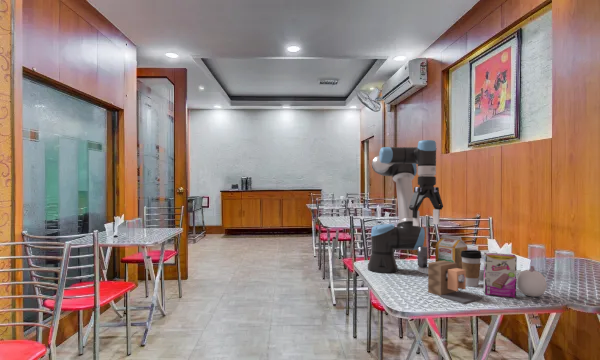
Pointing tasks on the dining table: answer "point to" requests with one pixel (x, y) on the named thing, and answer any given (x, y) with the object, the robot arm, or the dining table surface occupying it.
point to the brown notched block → (439, 277)
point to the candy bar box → (500, 274)
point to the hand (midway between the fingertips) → (426, 225)
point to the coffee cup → (471, 266)
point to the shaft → (423, 263)
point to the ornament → (531, 282)
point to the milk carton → (450, 249)
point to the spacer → (456, 279)
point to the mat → (461, 297)
